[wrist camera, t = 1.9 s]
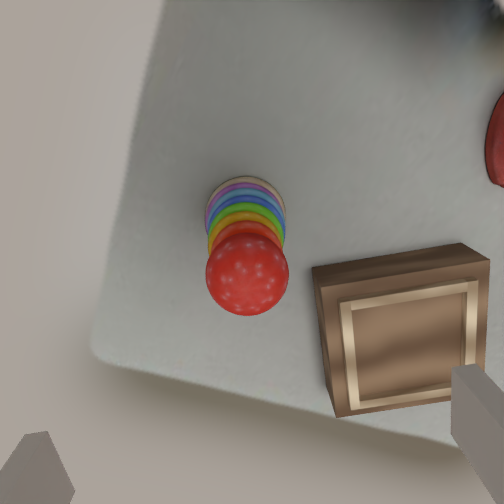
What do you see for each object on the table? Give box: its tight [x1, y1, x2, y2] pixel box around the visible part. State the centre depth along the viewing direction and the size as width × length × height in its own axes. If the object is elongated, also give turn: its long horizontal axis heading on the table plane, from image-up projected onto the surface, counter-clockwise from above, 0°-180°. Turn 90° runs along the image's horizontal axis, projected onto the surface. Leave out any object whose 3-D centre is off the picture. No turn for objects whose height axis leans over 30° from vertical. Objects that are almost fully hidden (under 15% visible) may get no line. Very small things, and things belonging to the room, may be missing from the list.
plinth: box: [312, 243, 490, 418], centre depth 41 cm, size 16×16×6 cm
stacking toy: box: [205, 177, 289, 316], centre depth 30 cm, size 8×8×19 cm
